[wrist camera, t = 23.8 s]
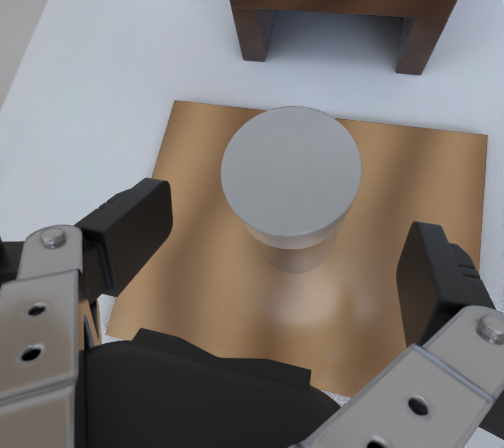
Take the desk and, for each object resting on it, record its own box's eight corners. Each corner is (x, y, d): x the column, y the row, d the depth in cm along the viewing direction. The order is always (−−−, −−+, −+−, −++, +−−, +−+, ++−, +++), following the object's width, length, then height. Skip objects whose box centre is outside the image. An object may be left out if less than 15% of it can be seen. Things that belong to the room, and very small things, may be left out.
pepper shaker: (339, 207, 21) (371, 113, 11) (327, 281, 20) (350, 248, 10) (265, 195, 22) (236, 98, 12) (250, 266, 21) (205, 222, 11)
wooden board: (484, 138, 21) (488, 135, 21) (465, 425, 17) (469, 427, 17) (176, 103, 25) (174, 100, 24) (108, 334, 21) (104, 334, 21)
